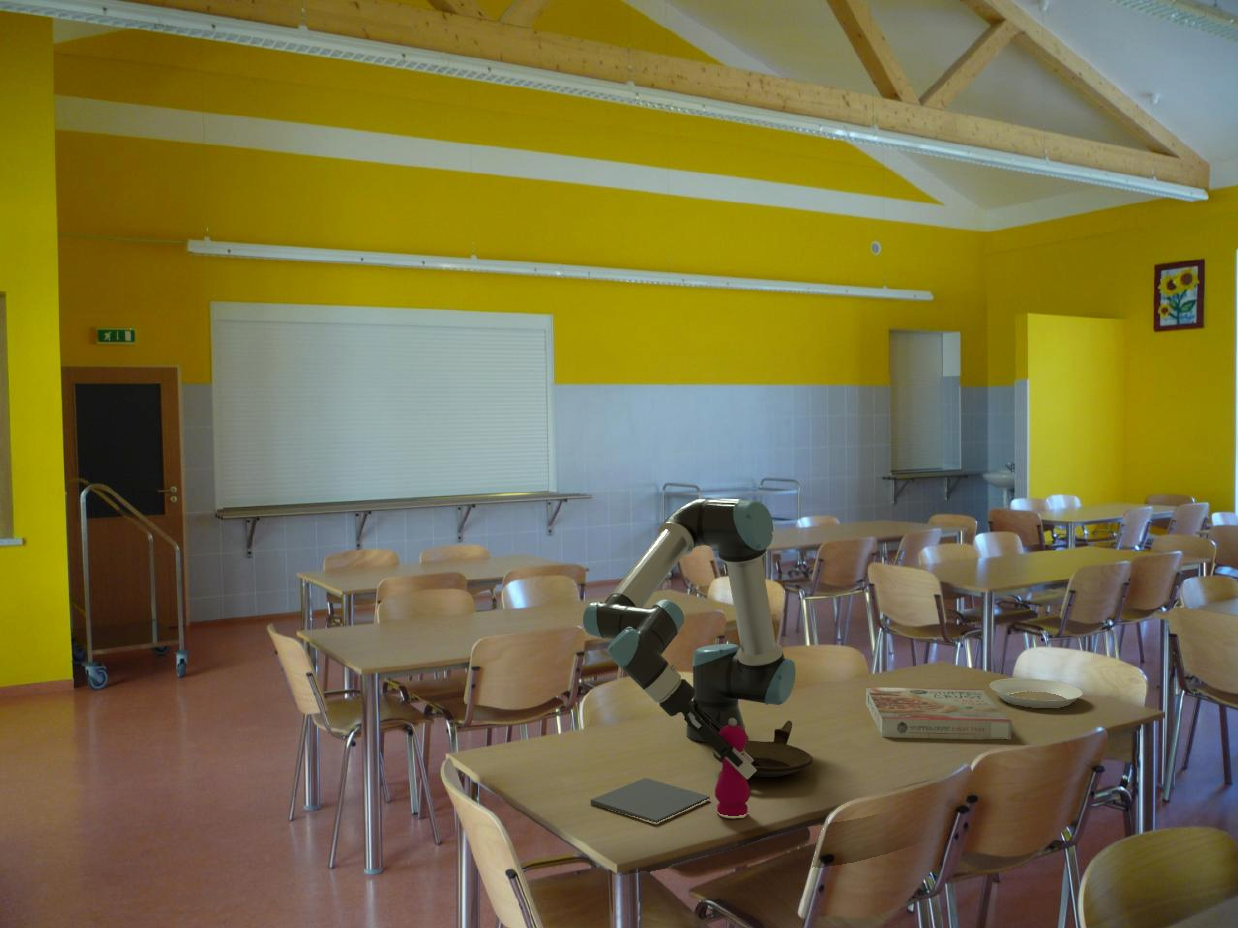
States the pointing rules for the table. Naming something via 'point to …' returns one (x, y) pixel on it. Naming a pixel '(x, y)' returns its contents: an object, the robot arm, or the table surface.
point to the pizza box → (936, 713)
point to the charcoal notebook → (649, 800)
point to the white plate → (1037, 685)
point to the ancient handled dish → (775, 755)
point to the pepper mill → (732, 775)
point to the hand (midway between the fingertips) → (750, 769)
